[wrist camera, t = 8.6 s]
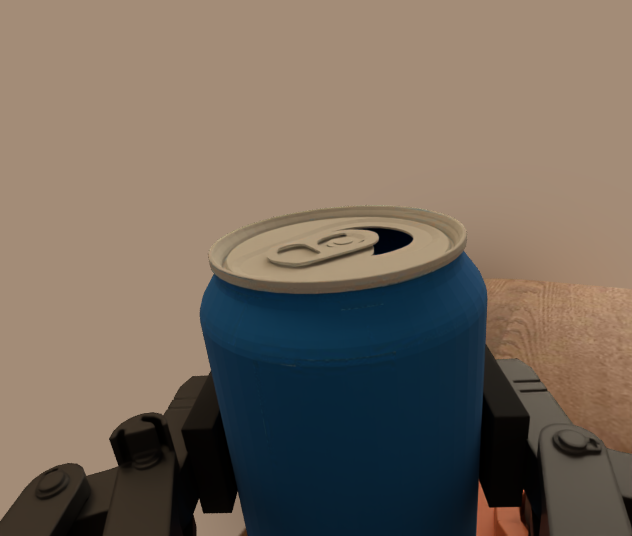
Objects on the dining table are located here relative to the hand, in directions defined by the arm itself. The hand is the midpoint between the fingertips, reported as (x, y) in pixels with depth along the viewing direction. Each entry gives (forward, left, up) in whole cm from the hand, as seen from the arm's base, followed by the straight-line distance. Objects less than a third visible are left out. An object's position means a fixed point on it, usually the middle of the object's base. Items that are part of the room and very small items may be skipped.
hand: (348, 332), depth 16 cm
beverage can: (-1, -5, -7) cm, 8 cm away
